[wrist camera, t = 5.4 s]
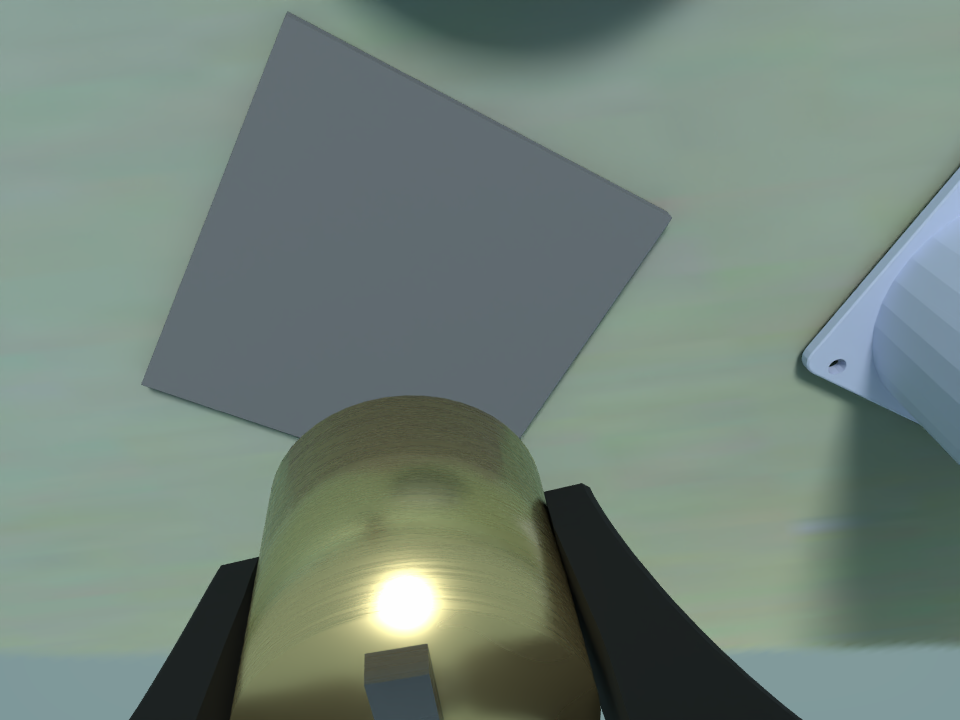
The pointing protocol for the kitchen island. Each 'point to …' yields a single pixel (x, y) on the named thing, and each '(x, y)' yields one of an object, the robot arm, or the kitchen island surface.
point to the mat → (390, 252)
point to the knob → (411, 577)
